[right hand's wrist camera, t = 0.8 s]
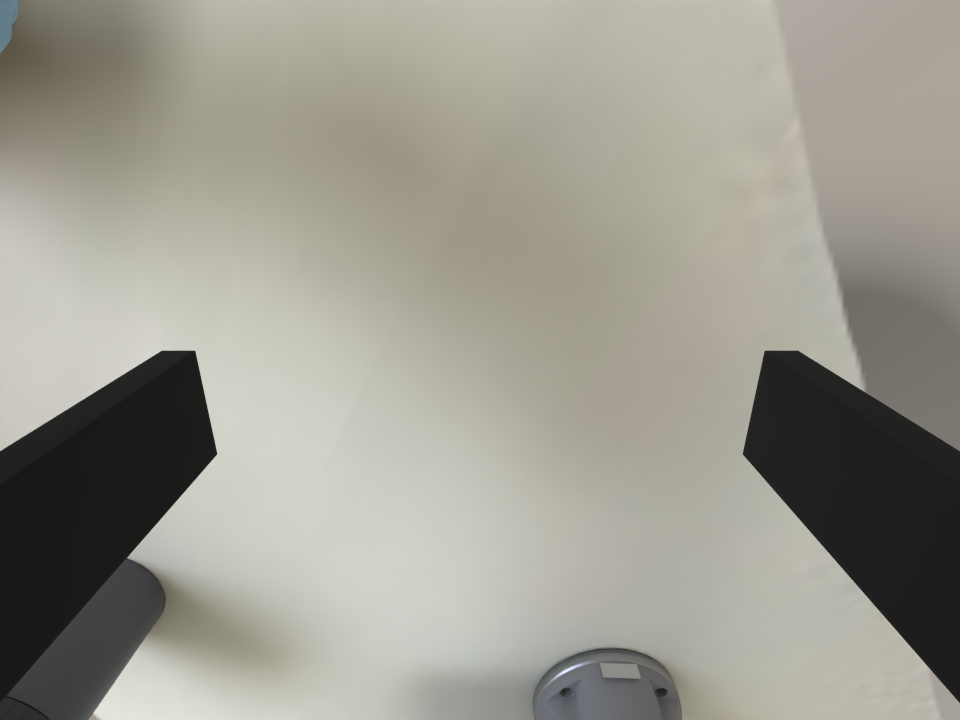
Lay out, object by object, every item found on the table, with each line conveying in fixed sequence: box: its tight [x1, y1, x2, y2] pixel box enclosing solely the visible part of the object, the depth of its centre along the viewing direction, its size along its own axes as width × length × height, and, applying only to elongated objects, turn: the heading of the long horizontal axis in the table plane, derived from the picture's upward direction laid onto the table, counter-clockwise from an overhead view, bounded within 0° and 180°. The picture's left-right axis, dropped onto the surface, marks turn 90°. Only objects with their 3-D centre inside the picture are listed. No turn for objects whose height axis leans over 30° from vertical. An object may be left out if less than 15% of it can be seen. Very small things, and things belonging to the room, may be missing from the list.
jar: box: [6, 559, 165, 720], centre depth 44 cm, size 9×9×16 cm
